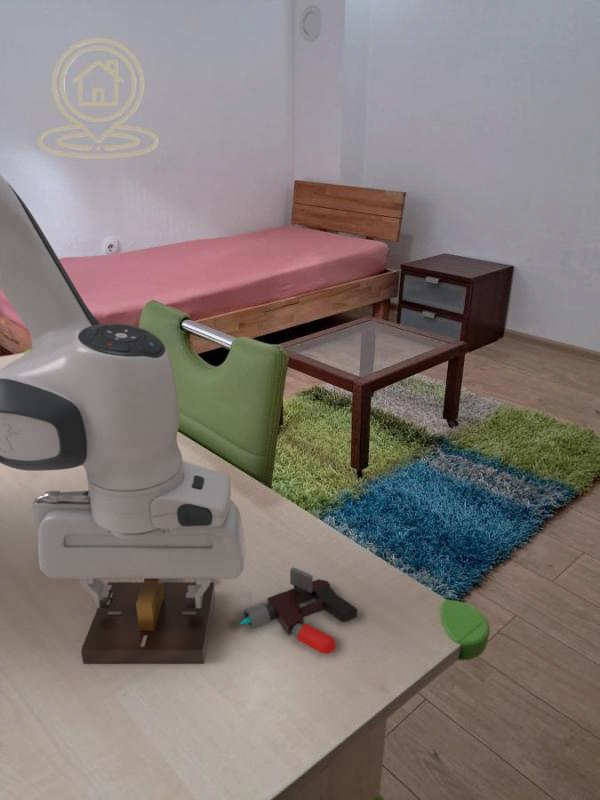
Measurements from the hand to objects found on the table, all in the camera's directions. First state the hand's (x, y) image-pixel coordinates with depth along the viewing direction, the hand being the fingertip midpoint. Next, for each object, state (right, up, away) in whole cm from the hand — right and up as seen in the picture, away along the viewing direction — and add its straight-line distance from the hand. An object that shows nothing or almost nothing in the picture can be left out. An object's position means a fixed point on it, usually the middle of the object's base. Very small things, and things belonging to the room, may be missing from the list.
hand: (149, 604), depth 66 cm
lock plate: (0, -4, +2) cm, 4 cm away
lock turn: (0, -1, 0) cm, 1 cm away
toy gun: (+16, -4, +2) cm, 17 cm away
